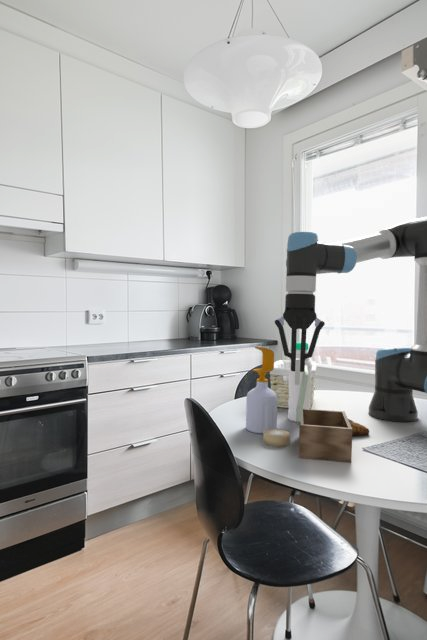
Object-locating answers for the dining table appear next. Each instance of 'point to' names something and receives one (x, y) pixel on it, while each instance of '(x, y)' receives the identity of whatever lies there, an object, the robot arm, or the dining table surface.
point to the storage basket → (286, 382)
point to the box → (325, 435)
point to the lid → (302, 395)
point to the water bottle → (298, 386)
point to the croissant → (358, 429)
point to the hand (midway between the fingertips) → (297, 383)
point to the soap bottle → (262, 399)
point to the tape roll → (276, 437)
